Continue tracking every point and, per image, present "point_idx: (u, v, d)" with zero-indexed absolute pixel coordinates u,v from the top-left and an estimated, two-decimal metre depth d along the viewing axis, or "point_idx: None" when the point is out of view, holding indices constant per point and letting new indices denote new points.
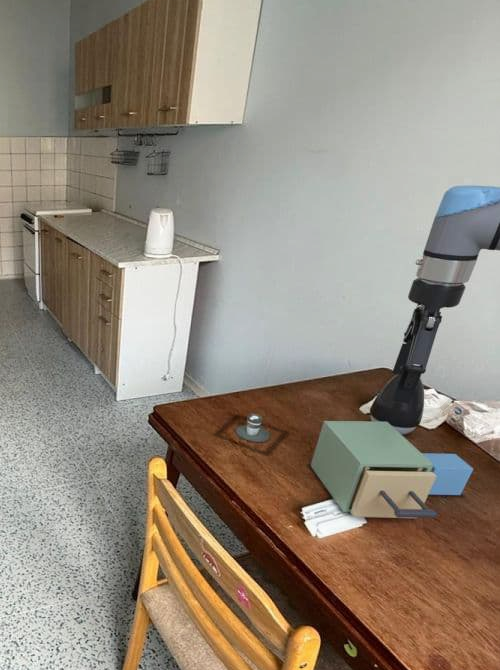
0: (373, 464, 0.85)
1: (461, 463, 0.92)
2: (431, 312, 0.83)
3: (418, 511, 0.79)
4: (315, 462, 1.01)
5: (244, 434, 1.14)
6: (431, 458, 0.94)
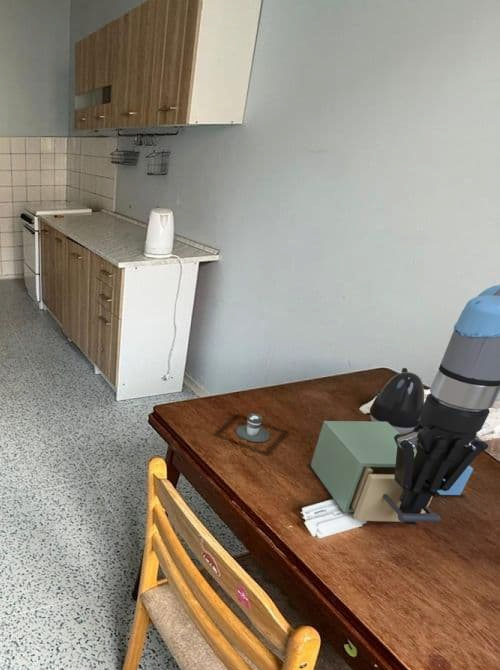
0: (373, 464, 0.85)
1: None
2: (421, 427, 0.73)
3: (422, 515, 0.78)
4: (315, 462, 1.01)
5: (244, 434, 1.14)
6: None
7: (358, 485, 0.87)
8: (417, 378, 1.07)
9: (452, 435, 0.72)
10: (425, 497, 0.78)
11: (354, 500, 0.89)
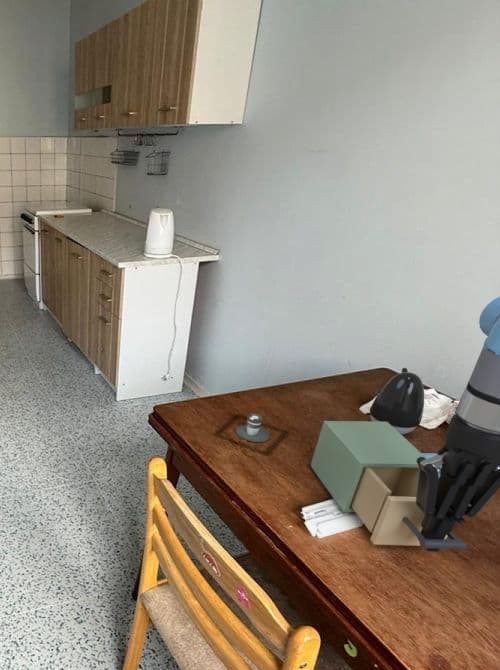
0: (373, 464, 0.85)
1: None
2: (447, 450, 0.68)
3: (446, 542, 0.73)
4: (315, 462, 1.01)
5: (244, 434, 1.14)
6: None
7: (375, 507, 0.82)
8: (417, 378, 1.07)
9: (480, 459, 0.67)
10: (449, 523, 0.73)
11: (371, 522, 0.83)
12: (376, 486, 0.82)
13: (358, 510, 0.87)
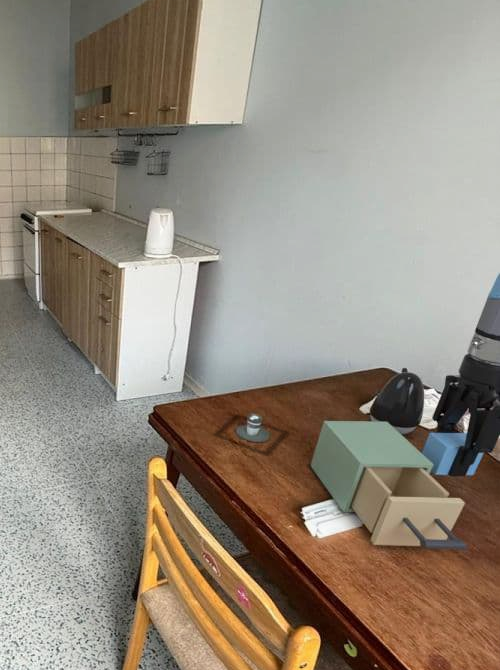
0: (373, 464, 0.85)
1: None
2: (498, 392, 0.82)
3: (446, 542, 0.73)
4: (315, 462, 1.01)
5: (244, 433, 1.14)
6: (442, 437, 0.91)
7: (376, 507, 0.82)
8: (417, 378, 1.07)
9: None
10: None
11: (371, 522, 0.83)
12: (376, 486, 0.82)
13: (358, 510, 0.87)
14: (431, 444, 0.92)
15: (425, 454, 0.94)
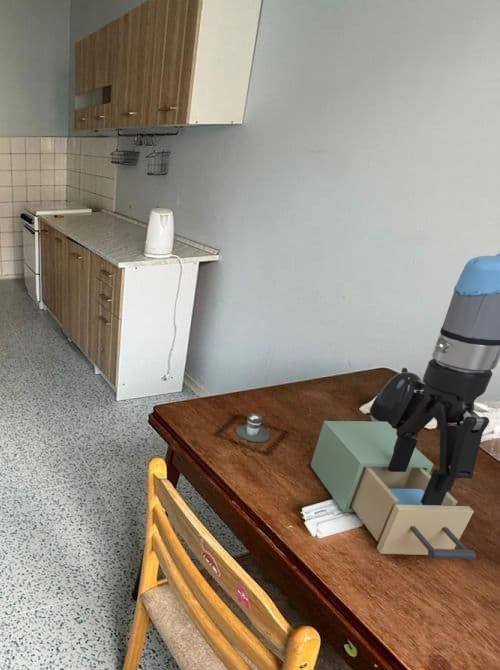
0: (373, 464, 0.85)
1: None
2: (467, 404, 0.69)
3: (455, 552, 0.71)
4: (315, 462, 1.01)
5: (244, 434, 1.14)
6: None
7: (382, 515, 0.80)
8: (417, 378, 1.07)
9: None
10: None
11: (377, 531, 0.82)
12: (383, 494, 0.80)
13: (363, 517, 0.86)
14: None
15: None
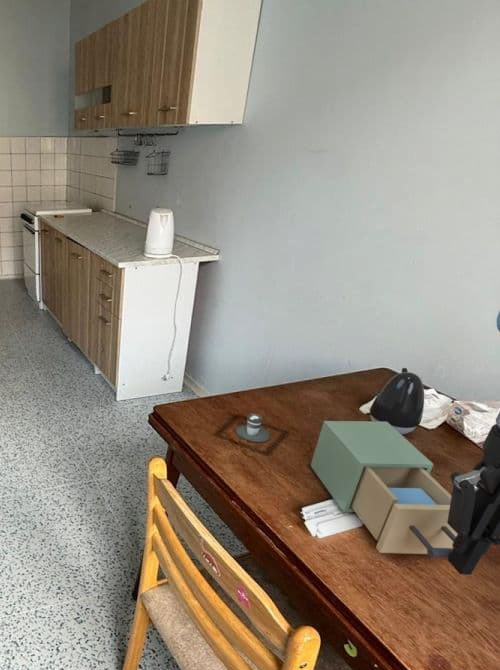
0: (373, 464, 0.85)
1: (427, 500, 0.80)
2: (485, 465, 0.62)
3: None
4: (315, 462, 1.01)
5: (244, 433, 1.14)
6: None
7: (381, 514, 0.81)
8: (417, 378, 1.07)
9: None
10: (485, 544, 0.66)
11: (377, 530, 0.82)
12: (382, 493, 0.81)
13: (363, 517, 0.86)
14: None
15: None
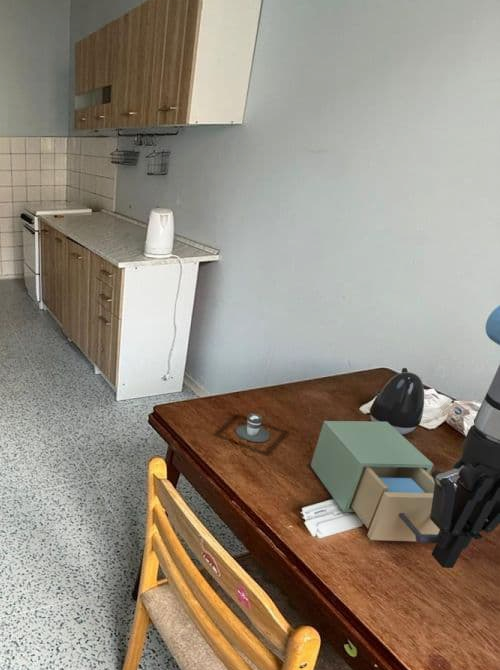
0: (373, 464, 0.85)
1: (416, 489, 0.83)
2: (464, 463, 0.65)
3: None
4: (315, 462, 1.01)
5: (244, 433, 1.14)
6: None
7: (372, 503, 0.83)
8: (417, 378, 1.07)
9: (499, 473, 0.64)
10: (465, 539, 0.70)
11: (368, 518, 0.84)
12: (373, 482, 0.83)
13: (355, 506, 0.88)
14: None
15: None
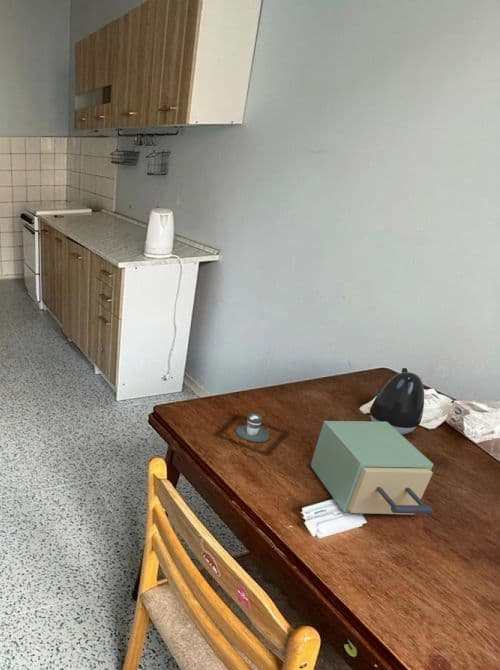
0: (373, 464, 0.85)
1: None
2: None
3: (414, 507, 0.80)
4: (315, 462, 1.01)
5: (244, 433, 1.14)
6: None
7: None
8: (417, 378, 1.07)
9: None
10: None
11: None
12: None
13: None
14: None
15: None
